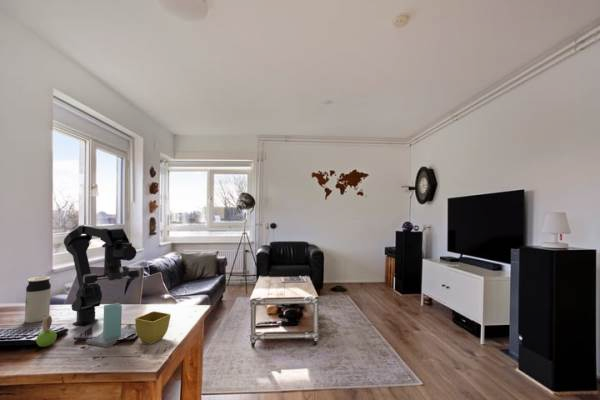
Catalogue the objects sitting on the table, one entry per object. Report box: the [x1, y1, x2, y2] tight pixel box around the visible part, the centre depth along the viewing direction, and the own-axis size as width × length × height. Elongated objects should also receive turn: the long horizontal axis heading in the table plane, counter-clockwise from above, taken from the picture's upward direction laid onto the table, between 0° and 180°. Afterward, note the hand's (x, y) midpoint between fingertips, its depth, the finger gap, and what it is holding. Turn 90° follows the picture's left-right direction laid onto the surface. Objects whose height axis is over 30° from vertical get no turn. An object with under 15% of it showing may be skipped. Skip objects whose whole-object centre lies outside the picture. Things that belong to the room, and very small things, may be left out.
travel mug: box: [24, 276, 52, 324], centre depth 125 cm, size 8×8×18 cm
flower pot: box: [134, 310, 171, 345], centre depth 107 cm, size 9×9×9 cm
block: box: [102, 302, 123, 339], centre depth 108 cm, size 5×5×11 cm
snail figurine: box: [35, 315, 58, 348], centre depth 101 cm, size 5×6×12 cm
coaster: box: [85, 327, 136, 348], centre depth 108 cm, size 10×12×1 cm
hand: (111, 297), depth 116 cm, fingers open, 9 cm apart
